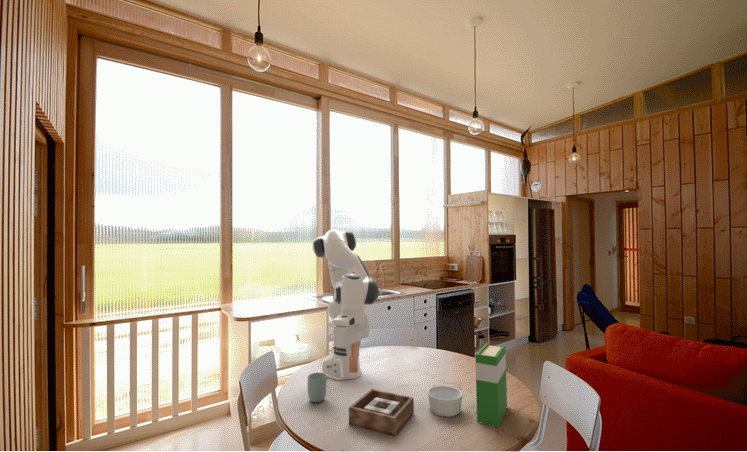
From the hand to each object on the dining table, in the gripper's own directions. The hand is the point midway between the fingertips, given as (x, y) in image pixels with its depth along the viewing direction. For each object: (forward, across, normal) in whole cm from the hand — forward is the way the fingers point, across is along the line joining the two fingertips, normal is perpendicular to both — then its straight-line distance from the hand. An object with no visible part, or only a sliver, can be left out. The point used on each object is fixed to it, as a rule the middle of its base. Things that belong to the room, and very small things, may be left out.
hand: (353, 354), depth 127 cm
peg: (+6, 0, 0) cm, 6 cm away
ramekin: (+24, -22, +28) cm, 43 cm away
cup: (+23, -6, -22) cm, 32 cm away
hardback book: (+24, -28, +45) cm, 58 cm away
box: (+23, -5, +10) cm, 26 cm away
